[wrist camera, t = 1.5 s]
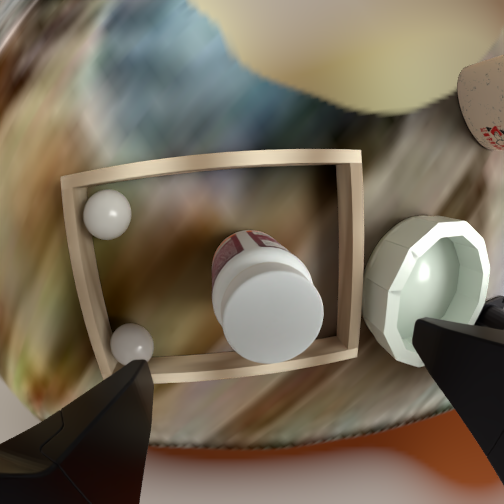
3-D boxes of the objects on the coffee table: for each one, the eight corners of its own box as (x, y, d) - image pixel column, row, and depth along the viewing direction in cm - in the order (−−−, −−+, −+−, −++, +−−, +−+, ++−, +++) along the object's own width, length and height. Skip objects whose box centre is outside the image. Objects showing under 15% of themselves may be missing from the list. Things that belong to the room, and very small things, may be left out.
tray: (345, 153, 18) (360, 150, 16) (345, 342, 21) (357, 356, 19) (75, 177, 16) (60, 176, 14) (112, 366, 19) (105, 383, 17)
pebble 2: (152, 314, 19) (143, 335, 16) (161, 352, 20) (154, 375, 17) (113, 316, 19) (99, 336, 16) (122, 353, 19) (112, 376, 16)
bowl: (463, 213, 21) (494, 219, 17) (450, 328, 23) (475, 344, 19) (361, 218, 19) (391, 225, 16) (355, 356, 22) (376, 381, 18)
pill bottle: (225, 309, 20) (234, 385, 11) (202, 241, 18) (193, 284, 10) (292, 287, 20) (341, 349, 12) (274, 219, 19) (320, 243, 11)
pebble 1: (134, 185, 17) (120, 185, 14) (139, 232, 18) (126, 241, 15) (92, 192, 17) (72, 193, 14) (97, 237, 17) (79, 246, 15)
